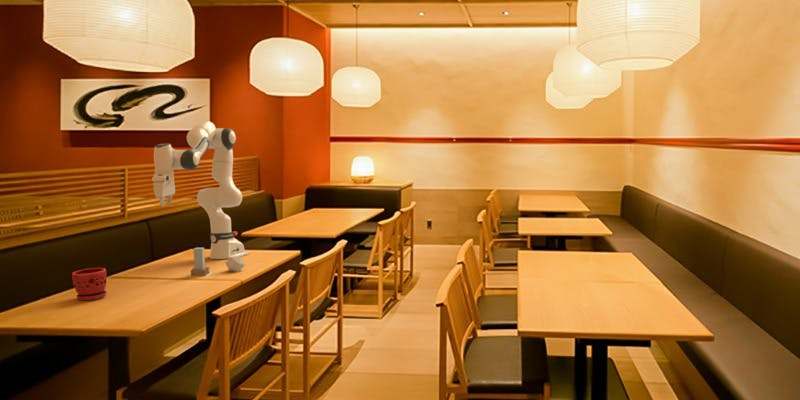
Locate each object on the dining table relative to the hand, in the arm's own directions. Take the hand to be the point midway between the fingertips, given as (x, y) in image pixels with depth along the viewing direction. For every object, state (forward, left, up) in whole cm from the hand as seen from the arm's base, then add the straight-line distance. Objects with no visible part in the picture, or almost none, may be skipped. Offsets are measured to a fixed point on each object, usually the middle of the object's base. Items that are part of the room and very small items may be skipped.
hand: (166, 205), depth 327 cm
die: (-19, +26, -34) cm, 47 cm away
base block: (-4, +18, -34) cm, 38 cm away
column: (-4, +18, -31) cm, 36 cm away
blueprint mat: (-5, +18, -34) cm, 39 cm away
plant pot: (+50, +14, -34) cm, 62 cm away
